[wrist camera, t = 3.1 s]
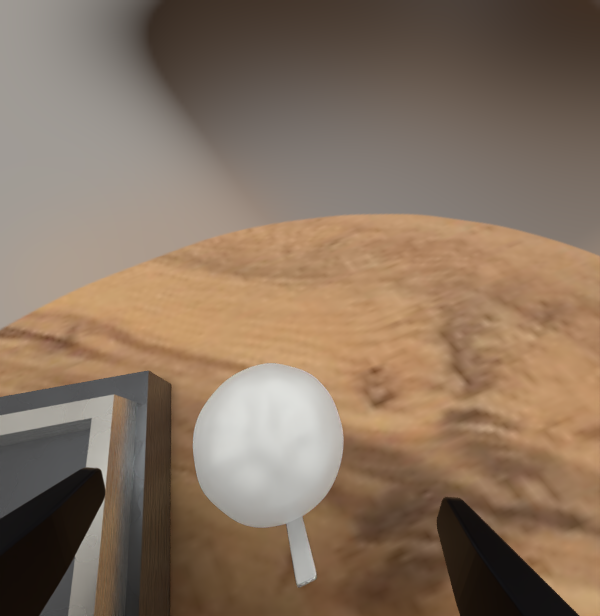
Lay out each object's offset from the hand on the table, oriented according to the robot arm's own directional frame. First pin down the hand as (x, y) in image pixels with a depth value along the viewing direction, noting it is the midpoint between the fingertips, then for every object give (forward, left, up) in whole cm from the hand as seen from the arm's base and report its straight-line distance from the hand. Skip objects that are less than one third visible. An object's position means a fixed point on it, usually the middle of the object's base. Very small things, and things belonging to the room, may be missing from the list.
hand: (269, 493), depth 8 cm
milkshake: (+1, 0, -9) cm, 9 cm away
